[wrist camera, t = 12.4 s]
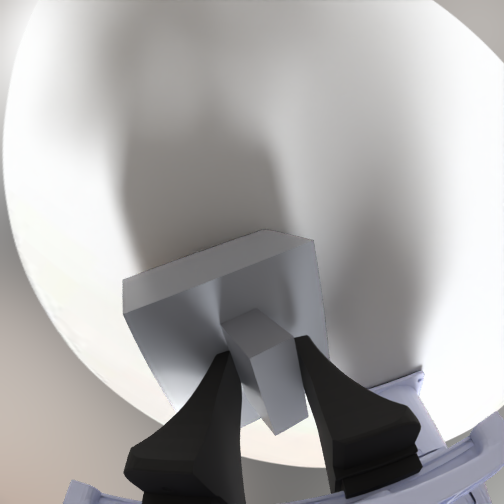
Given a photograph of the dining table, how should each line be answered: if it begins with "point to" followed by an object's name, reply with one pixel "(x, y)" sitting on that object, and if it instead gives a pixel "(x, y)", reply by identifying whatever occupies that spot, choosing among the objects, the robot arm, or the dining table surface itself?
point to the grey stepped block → (233, 321)
